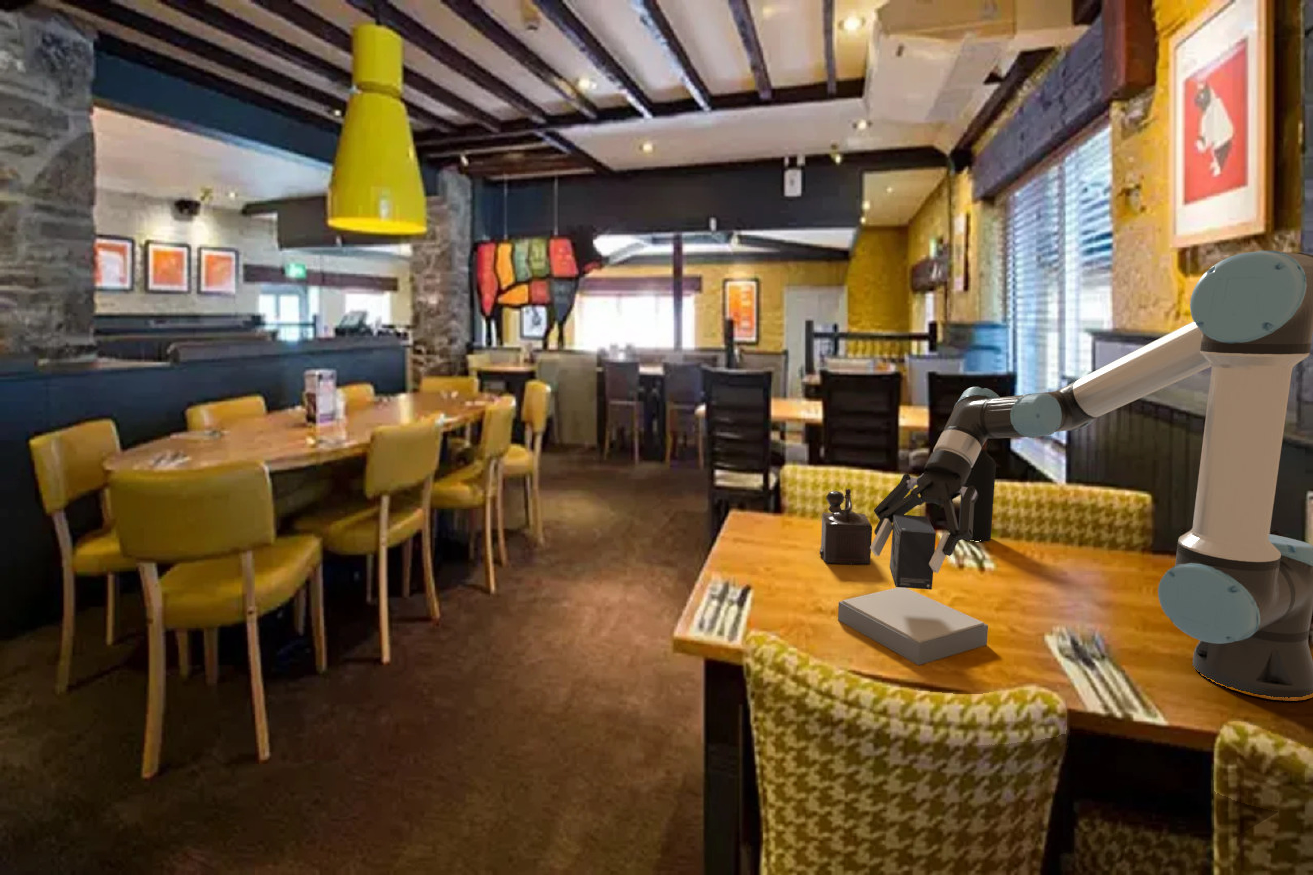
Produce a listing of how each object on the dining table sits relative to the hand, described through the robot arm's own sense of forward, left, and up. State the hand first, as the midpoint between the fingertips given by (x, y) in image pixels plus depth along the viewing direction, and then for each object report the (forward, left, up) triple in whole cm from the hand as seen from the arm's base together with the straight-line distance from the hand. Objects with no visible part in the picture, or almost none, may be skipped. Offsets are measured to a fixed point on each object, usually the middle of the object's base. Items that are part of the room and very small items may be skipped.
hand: (902, 560), depth 129 cm
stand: (0, -3, -14) cm, 14 cm away
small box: (+1, -3, -4) cm, 5 cm away
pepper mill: (+35, -18, -14) cm, 42 cm away
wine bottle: (+33, -58, -14) cm, 68 cm away
